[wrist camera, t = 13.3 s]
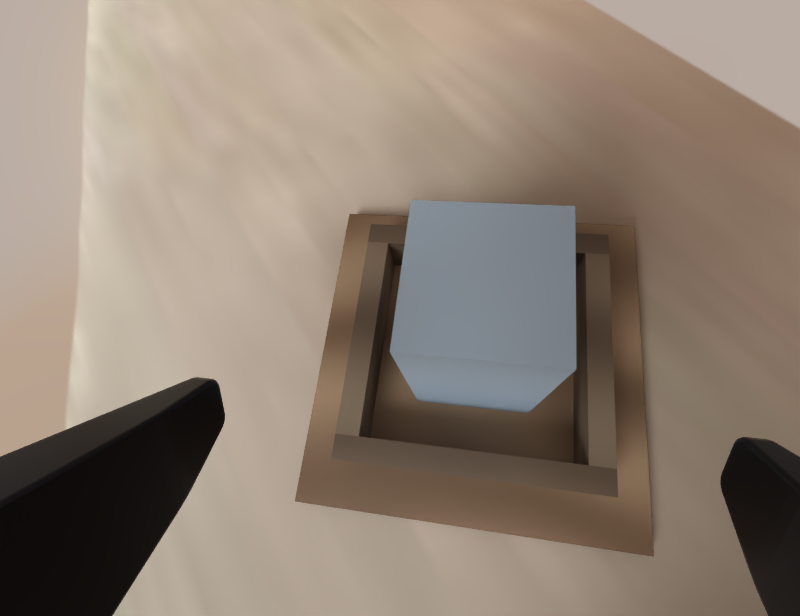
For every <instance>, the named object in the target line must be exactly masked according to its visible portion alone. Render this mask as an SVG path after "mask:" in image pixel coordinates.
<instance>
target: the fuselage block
mask: <svg viewBox="0 0 800 616" xmlns="http://www.w3.org/2000/svg"><path fill="white" fill-rule="evenodd" d="M390 353H391V355H392V357H393V359H394V360H395V362H396V364H397V366H398V367H399V369H400V371H401V373H402V374H403V376H404V378H405V380H406V381H407V383H408V385H409V386H410V388H411V390H412V392H413V393H414V395H415V397H416V399H417V400H418V401H421V402H430V403H439V404H448V405H457V406H466V407H475V408H484V409H493V410H502V411H511V412H520V413H529V412H530V411H531V410H532V409H533V408H534V407H535V406H536V405H537V404H539V403H540V402H541V401H542V400H543V399H544V398H545V397H546V396H547V395H549V394H550V393H551V392H552V391H553V390H554V389H555V388H556V387H557V386H559V385H560V384H561V383H562V382H563V381H564V380H565V379H566V378H567V377H568V376H570V375H571V374H572V373H573V372H574V371H575V370H576V230H575V206H561V205H533V204H506V203H479V202H451V201H424V200H411V202H410V209H409V216H408V224H407V231H406V238H405V245H404V252H403V259H402V267H401V274H400V281H399V288H398V295H397V302H396V310H395V317H394V324H393V331H392V338H391V345H390Z"/></svg>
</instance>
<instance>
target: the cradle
mask: <svg viewBox="0 0 800 616" xmlns="http://www.w3.org/2000/svg"><path fill="white" fill-rule="evenodd" d="M407 224H408V216H386V215H362V214H350V215H349V220H348V225H347V231H346V236H345V241H344V246H343V252H342V257H341V262H340V267H339V273H338V278H337V283H336V288H335V294H334V299H333V304H332V309H331V315H330V320H329V325H328V330H327V336H326V341H325V346H324V351H323V357H322V362H321V367H320V372H319V378H318V383H317V388H316V393H315V399H314V404H313V409H312V414H311V420H310V425H309V430H308V435H307V441H306V446H305V451H304V456H303V462H302V467H301V472H300V477H299V483H298V488H297V493H296V498H295V501H297V502H303V503H310V504H316V505H323V506H329V507H336V508H342V509H349V510H355V511H362V512H368V513H375V514H381V515H388V516H394V517H400V518H407V519H413V520H420V521H426V522H433V523H439V524H446V525H452V526H459V527H465V528H472V529H478V530H485V531H491V532H498V533H504V534H511V535H517V536H524V537H530V538H537V539H543V540H550V541H556V542H563V543H569V544H576V545H582V546H589V547H595V548H602V549H608V550H615V551H621V552H628V553H634V554H641V555H647V556H654V551H653V534H652V517H651V500H650V484H649V467H648V450H647V433H646V417H645V400H644V383H643V366H642V349H641V333H640V316H639V299H638V282H637V265H636V249H635V232H634V226H627V225H603V224H579V223H575V230H576V370H575V371H574V372H573V373H572V374H571V375H570V376H568V377H567V378H566V379H565V380H564V381H563V382H562V383H561V384H560V385H559V386H557V387H556V388H555V389H554V390H553V391H552V392H551V393H550V394H549V395H547V396H546V397H545V398H544V399H543V400H542V401H541V402H540V403H539V404H537V405H536V406H535V407H534V408H533V409H532V410H531V411H530V412H529V413H520V412H511V411H502V410H493V409H484V408H475V407H466V406H457V405H448V404H439V403H430V402H421V401H418V400H417V399H416V397H415V395H414V393H413V392H412V390H411V388H410V386H409V385H408V383H407V381H406V380H405V378H404V376H403V374H402V373H401V371H400V369H399V367H398V366H397V364H396V362H395V360H394V359H393V357H392V355H391V353H390V345H391V338H392V331H393V324H394V317H395V310H396V302H397V295H398V288H399V281H400V274H401V267H402V259H403V252H404V245H405V238H406V231H407Z"/></svg>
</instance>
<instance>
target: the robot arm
mask: <svg viewBox="0 0 800 616" xmlns="http://www.w3.org/2000/svg"><path fill="white" fill-rule="evenodd" d="M224 420H225V412H224V407H223V402H222V398H221V393H220V388H219V384H218V383H217V381H215V380H214V379H208V378H199V377H196V378H191V379H189V380H186V381H184V382H182V383H179V384H177V385H174V386H172V387H169V388H167V389H164V390H162V391H160V392H157V393H155V394H152V395H150V396H147V397H145V398H142V399H140V400H138V401H135V402H133V403H130V404H128V405H125V406H123V407H120V408H118V409H116V410H113V411H111V412H108V413H106V414H103V415H101V416H99V417H96V418H94V419H91V420H89V421H86V422H84V423H81V424H79V425H77V426H74V427H72V428H69V429H67V430H64V431H62V432H60V433H57V434H55V435H52V436H50V437H47V438H45V439H42V440H40V441H38V442H35V443H33V444H30V445H28V446H25V447H23V448H20V449H18V450H16V451H13V452H11V453H8V454H6V455H3V456H1V457H0V616H112V615H113V614H114V612H115V611H116V609H117V608H118V606H119V604H120V603H121V601H122V600H123V598H124V597H125V595H126V593H127V592H128V590H129V589H130V587H131V585H132V584H133V582H134V581H135V579H136V578H137V576H138V574H139V573H140V571H141V570H142V568H143V566H144V565H145V563H146V562H147V560H148V559H149V557H150V555H151V554H152V552H153V551H154V549H155V547H156V546H157V544H158V543H159V541H160V540H161V538H162V536H163V535H164V533H165V532H166V530H167V529H168V527H169V525H170V524H171V522H172V521H173V519H174V517H175V516H176V514H177V513H178V511H179V509H180V508H181V506H182V504H183V503H184V501H185V499H186V498H187V496H188V494H189V492H190V490H191V489H192V487H193V485H194V483H195V481H196V479H197V477H198V475H199V473H200V471H201V469H202V467H203V465H204V463H205V461H206V459H207V457H208V455H209V453H210V451H211V449H212V447H213V445H214V443H215V441H216V439H217V437H218V435H219V433H220V431H221V429H222V427H223V424H224ZM721 489H722V493H723V496H724V499H725V501H726V504H727V507H728V510H729V513H730V516H731V519H732V522H733V525H734V527H735V530H736V533H737V536H738V539H739V542H740V545H741V548H742V550H743V553H744V556H745V559H746V562H747V565H748V568H749V571H750V573H751V576H752V579H753V581H754V584H755V586H756V589H757V591H758V593H759V596H760V598H761V600H762V603H763V605H764V607H765V609H766V611H767V614H768V616H800V457H799V456H797V455H795V454H794V453H792V452H790V451H789V450H787V449H785V448H784V447H782V446H780V445H778V444H777V443H775V442H773V441H771V440H767V439H759V438H750V437H742V438H739V439H737V440H736V441H735V443H734V445H733V447H732V450H731V452H730V455H729V457H728V459H727V462H726V464H725V467H724V469H723V472H722V475H721Z"/></svg>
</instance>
